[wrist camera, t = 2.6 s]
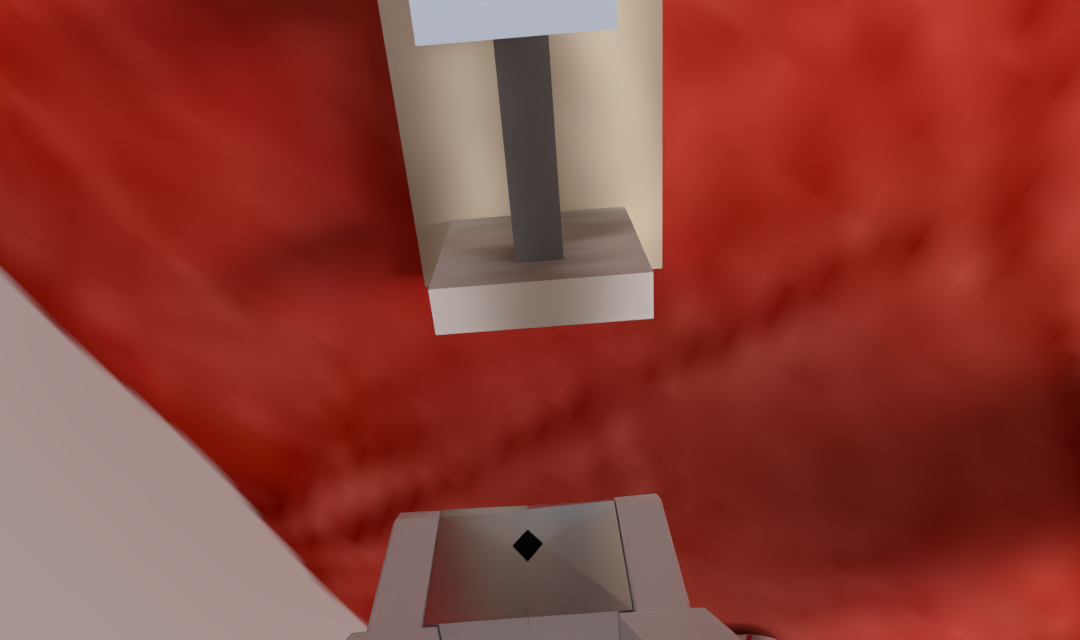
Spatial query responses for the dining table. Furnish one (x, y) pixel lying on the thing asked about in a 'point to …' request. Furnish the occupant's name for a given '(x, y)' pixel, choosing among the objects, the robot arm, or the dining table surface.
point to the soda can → (754, 637)
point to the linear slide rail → (533, 170)
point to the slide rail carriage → (506, 19)
